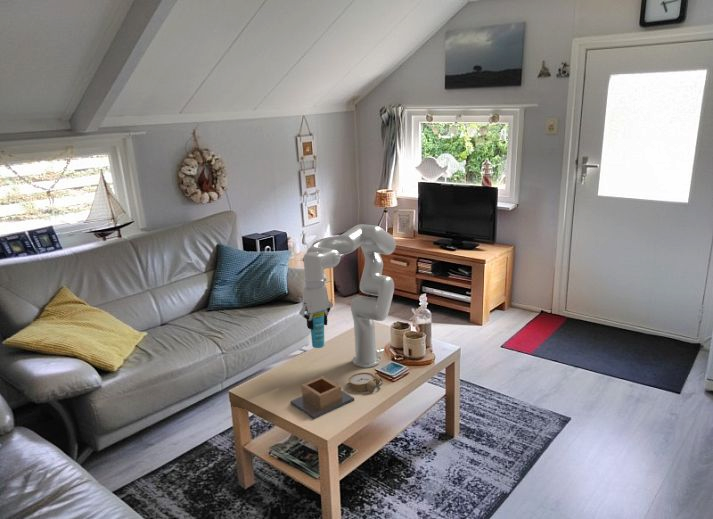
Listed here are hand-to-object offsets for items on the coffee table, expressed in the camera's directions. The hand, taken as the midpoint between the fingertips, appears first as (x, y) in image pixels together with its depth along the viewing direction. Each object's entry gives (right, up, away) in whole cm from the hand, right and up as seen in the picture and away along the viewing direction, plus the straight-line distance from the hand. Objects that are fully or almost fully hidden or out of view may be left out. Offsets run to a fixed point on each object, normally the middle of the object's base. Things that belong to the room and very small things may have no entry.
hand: (317, 326), depth 221 cm
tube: (0, -8, +2) cm, 9 cm away
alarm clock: (+20, -27, +13) cm, 36 cm away
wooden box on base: (+2, -31, +1) cm, 31 cm away
